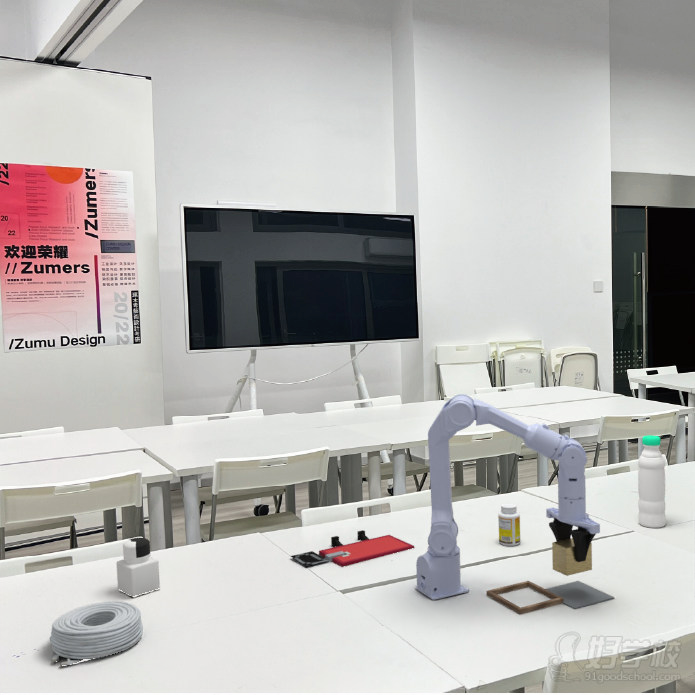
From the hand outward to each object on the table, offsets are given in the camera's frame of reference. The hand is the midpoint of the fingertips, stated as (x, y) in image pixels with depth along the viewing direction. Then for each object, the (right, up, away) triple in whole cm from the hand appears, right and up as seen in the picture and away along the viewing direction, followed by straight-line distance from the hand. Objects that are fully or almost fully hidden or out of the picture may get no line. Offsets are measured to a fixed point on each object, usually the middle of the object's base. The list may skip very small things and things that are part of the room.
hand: (572, 557), depth 166 cm
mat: (+1, -8, 0) cm, 8 cm away
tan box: (0, -3, 0) cm, 3 cm away
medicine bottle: (-98, -11, +12) cm, 99 cm away
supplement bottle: (-6, -6, +36) cm, 37 cm away
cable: (-99, -13, -14) cm, 101 cm away
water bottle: (+36, -4, +47) cm, 59 cm away
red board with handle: (-48, -8, +33) cm, 59 cm away
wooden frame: (-11, -9, -1) cm, 14 cm away
